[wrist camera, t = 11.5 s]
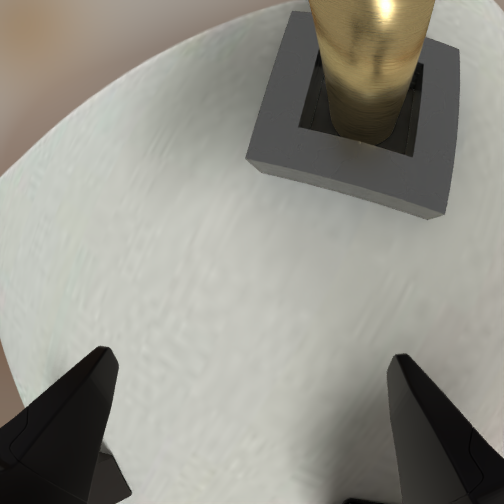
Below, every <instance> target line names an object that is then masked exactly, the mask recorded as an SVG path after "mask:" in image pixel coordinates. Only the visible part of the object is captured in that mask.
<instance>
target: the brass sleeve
mask: <svg viewBox="0 0 504 504" xmlns="http://www.w3.org/2000/svg"><path fill="white" fill-rule="evenodd" d="M309 3H310V8H311V12H312V16H313V21H314V25H315V30H316V34H317V39H318V44H319V49H320V55H321V60H322V65H323V71H324V77H325V83H326V89H327V95H328V102H329V109H330V116H331V121H332V124H333V126H334V128H335V130H336V131H337V132H338V133H339V135H340V136H342V137H344V138H348V139H351V140H355V141H359V142H363V143H366V144H370V145H376V144H379V143H381V142H383V141H385V140H386V139H387V138H388V137H389V136H390V135H391V133H392V131H393V129H394V127H395V124H396V122H397V119H398V116H399V114H400V111H401V108H402V105H403V103H404V100H405V97H406V94H407V91H408V89H409V86H410V83H411V80H412V77H413V74H414V71H415V68H416V65H417V62H418V59H419V55H420V52H421V49H422V46H423V42H424V39H425V36H426V32H427V29H428V25H429V22H430V18H431V14H432V11H433V7H434V3H435V0H309Z"/></svg>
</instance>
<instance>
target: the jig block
mask: <svg viewBox="0 0 504 504" xmlns="http://www.w3.org/2000/svg"><path fill="white" fill-rule="evenodd" d="M323 77H324V71H323V65H322V60H321V55H320V49H319V44H318V39H317V34H316V30H315V25H314V21H313V16H312V13H308V12H297V11H292V13H291V16H290V18H289V21H288V24H287V27H286V30H285V33H284V36H283V39H282V42H281V45H280V48H279V51H278V54H277V57H276V60H275V64H274V67H273V70H272V73H271V76H270V79H269V82H268V85H267V89H266V92H265V95H264V98H263V101H262V105H261V108H260V111H259V114H258V118H257V121H256V124H255V127H254V131H253V134H252V137H251V141H250V144H249V147H248V151H247V154H246V158H245V159H246V160H247V161H249V162H250V163H251V164H252V165H253V166H254V167H255V168H257V169H258V170H259V171H260V172H261V173H265V174H269V175H274V176H278V177H282V178H286V179H290V180H294V181H298V182H302V183H306V184H310V185H314V186H318V187H321V188H325V189H329V190H332V191H336V192H340V193H343V194H347V195H350V196H354V197H357V198H361V199H364V200H367V201H371V202H374V203H377V204H380V205H384V206H387V207H390V208H393V209H396V210H399V211H402V212H405V213H409V214H412V215H415V216H417V217H420V218H423V219H426V220H429V219H432V218H435V217H439V216H442V215H445V211H446V206H447V201H448V196H449V190H450V185H451V178H452V172H453V165H454V157H455V149H456V140H457V129H458V115H459V94H460V57H459V49H457V48H454V47H452V46H449V45H446V44H444V43H441V42H438V41H435V40H432V39H429V38H426V37H425V39H424V42H423V46H422V49H421V52H420V55H419V59H418V62H417V65H416V68H415V71H414V74H413V77H412V80H411V83H410V86H409V88H411V89H414V94H413V103H412V110H411V118H410V125H409V131H408V138H407V144H406V150H405V155H403V154H400V153H397V152H394V151H390V150H387V149H384V148H380V147H377V146H373V145H370V144H366V143H363V142H359V141H355V140H351V139H348V138H344V137H340V136H335V135H331V134H327V133H323V132H318V131H314V130H310V128H311V124H312V121H313V117H314V113H315V109H316V105H317V101H318V97H319V93H320V89H321V85H322V81H323Z"/></svg>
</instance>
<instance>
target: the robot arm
mask: <svg viewBox="0 0 504 504" xmlns="http://www.w3.org/2000/svg"><path fill="white" fill-rule="evenodd" d="M118 369H119V364H118V361H117V359H116V357H115V355H114V354H113V352H112V350H111V348H109V347H105V346H98V347H96V348H95V349H94V350H93V351H92V352H90V353H89V354H88V355H87V356H86V357H84V358H83V359H82V360H81V361H80V362H79V363H77V364H76V365H75V366H74V367H73V368H71V369H70V370H69V371H68V372H67V373H66V374H64V375H63V376H62V377H61V378H60V379H58V380H57V381H56V382H55V383H54V384H53V385H51V386H50V387H49V388H48V389H47V390H46V391H44V392H43V393H42V394H41V395H40V396H39V397H37V398H36V399H35V400H34V401H33V402H32V403H31V404H29V406H27V407H26V408H25V409H24V410H22V411H21V412H20V413H19V414H18V415H17V416H15V417H14V418H13V419H12V420H10V421H9V422H8V423H6V424H5V425H4V426H2V427H1V428H0V504H88V503H87V502H88V499H89V494H90V489H91V485H92V480H93V476H94V471H95V467H96V463H97V459H98V455H99V451H100V447H101V443H102V439H103V435H104V432H105V428H106V424H107V421H108V417H109V414H110V410H111V406H112V401H113V396H114V390H115V385H116V380H117V374H118ZM387 385H388V397H389V410H390V420H391V426H392V431H393V437H394V443H395V449H396V456H397V462H398V469H399V477H400V485H401V493H402V502H403V504H504V458H503V457H502V456H501V455H499V454H498V453H497V452H496V451H495V450H494V449H493V448H492V447H491V446H490V445H489V444H488V443H487V441H486V440H485V439H484V438H483V437H482V436H481V435H480V434H479V433H478V431H477V430H476V429H475V428H474V427H472V425H471V423H470V422H469V421H468V420H467V419H466V418H465V417H464V415H463V414H462V413H461V412H460V411H459V410H458V409H457V407H456V406H455V405H454V404H453V403H452V402H451V401H450V400H449V399H448V397H447V396H446V395H445V394H444V393H443V392H442V391H441V390H440V389H439V387H438V386H437V385H436V384H435V383H434V382H433V381H432V380H431V379H430V378H429V376H428V375H427V374H426V373H425V372H424V371H423V370H422V369H421V368H420V367H419V366H418V365H417V364H416V362H415V361H414V360H413V359H412V358H411V357H410V356H409V355H408V354H406V353H403V354H395V355H394V356H393V358H392V361H391V363H390V365H389V367H388V370H387ZM349 503H351V504H382V503H375V502H369V501H363V500H357V499H347V500H345V501H344V503H343V504H349Z"/></svg>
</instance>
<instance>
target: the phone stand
mask: <svg viewBox="0 0 504 504" xmlns="http://www.w3.org/2000/svg"><path fill="white" fill-rule="evenodd" d="M131 495H132V493H131V492H130V490H129V488H128V486H127V484H126V482H125V481H124V479H123V477H122V475H121V473H120V471H119V469H118V467H117V465H116V463H115V461H114V459H113V456H112V455H108V454H105V453H101V452H99V455H98V459H97V463H96V467H95V471H94V476H93V480H92V485H91V489H90V494H89V499H88V502H87V503H88V504H116V503H118V502H120V501H122V500H124V499H125V498H127V497H129V496H131Z"/></svg>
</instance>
